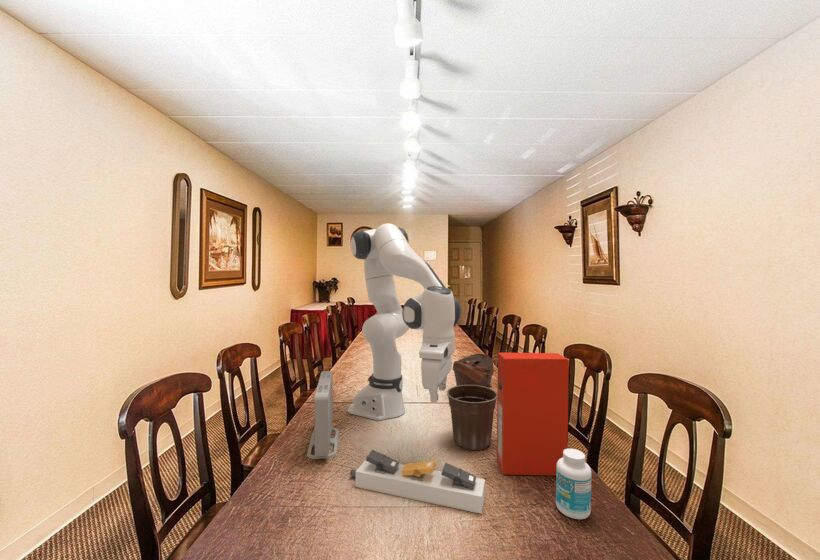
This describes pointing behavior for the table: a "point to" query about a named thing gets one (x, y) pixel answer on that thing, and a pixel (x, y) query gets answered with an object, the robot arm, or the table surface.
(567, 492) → the pill bottle
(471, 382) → the case
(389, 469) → the rocker left black
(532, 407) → the file binder
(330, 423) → the network device
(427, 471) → the rocker middle orange
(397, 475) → the power strip
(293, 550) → the table surface
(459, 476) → the rocker right black
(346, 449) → the table surface
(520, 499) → the table surface
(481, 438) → the plant pot
